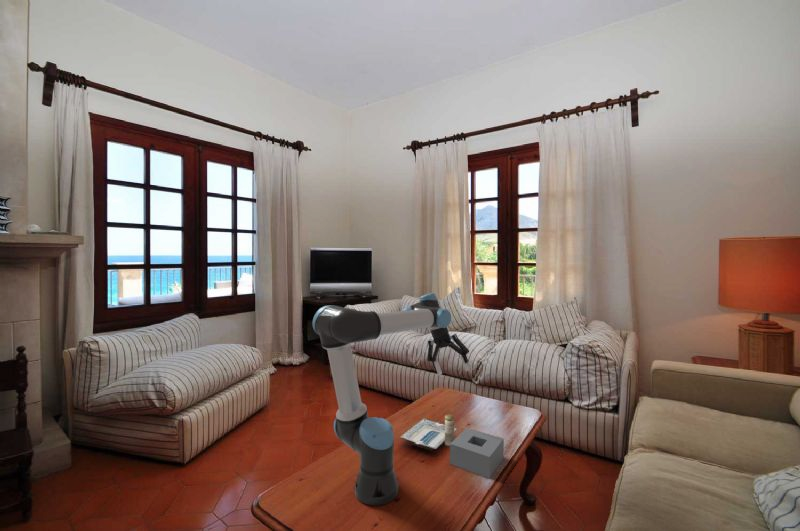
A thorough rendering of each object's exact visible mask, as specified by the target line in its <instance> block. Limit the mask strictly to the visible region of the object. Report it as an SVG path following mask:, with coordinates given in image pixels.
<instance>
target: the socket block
mask: <svg viewBox="0 0 800 531" xmlns="http://www.w3.org/2000/svg"><path fill="white" fill-rule="evenodd" d="M504 439H505V438H502V437H499V436H497V435H492V434H489V433H486V432H482V431H479V430H475V429H473V428H468V427H466V428H465V429H463V430H462V432H461V433H459V435H458V436H457V437H455V438H454V441H453V442H452V443H450V446H449V465H452V466H455V467H457V468H459V469H462V470H465V471H468V472H469V473H472V474H473V473H474V474H476V475H479V476H480V477H481V476H482V477H484V478H487V479H488V480H489V479H491V477H492V475H493V474H494V472H496V470H497V468H498V467H499V465H500V464H501V463H502V461H503V460H504V457H505V455H504V450H505V448H504V446H505V445H504V443H505V442H504Z"/></svg>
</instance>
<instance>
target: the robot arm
mask: <svg viewBox="0 0 800 531" xmlns="http://www.w3.org/2000/svg"><path fill="white" fill-rule="evenodd" d="M440 306H441V305H440V303H439V300H438V298H437V295H436V293H435V292H429V293H426V294H423V295H421V296H420V297H419V302H416V303H414V304H412V305H408V306H406V307H405V308H402V310H401V311H390V312H379V313H378V312H376V311H374V310H373V311H372V310H370V311H363V310H357V309H354V308H348V307H342V306H338V305H333V304H332V305H324V306H322V307H320V308H319V309H318V310H317V311H316V312H315V314H314V316H313V319H312V328H313V331H314V332H315V334H317V335H318V336H319V338H320V343H321V344H320V345H321V347H322V348H323V349H325V350H326V352H327V355H328V356H327V357H328V360H329V364H330V366H329V367H330V370H331V371H330V372H331V375H332V382H333V385H334V392H335V395H336V396H335V397H336V400H337V406H338V409H337V411H336V413H335V416H336V417H335V419H334V421H333V431H334V433H335V436H336V437H337V439H338V440H339V441H340V442H342V443H343V444H345V445H346V446H348V448H350V449H352V450H353V451H355V452H356V453H357V454H359V472H358V474H357V477H356V480H355V484H354V494H355V495H354V496H355V497H356V499H357V500H358V501H359V502H361V503H362V504H364V505H367V506H368V505H369V506H383V505H387V504H388V503H390V502H391V503H392V501H394V499H396V497H397V496H398V494H399V481H398V478H397V474H396V472H395V468H394V455H395V454H394V450H395V449H394V446H395V444H394V442H395V441H394V440H395V436H394V427H393V426H392V424H391V422H389V421H388V420H387V419H385V418H382V417H378V416H372V417H371V416H370V417H369V413H368V409H367V408H368V407H367V405H366V404H365V403H363V402H362V397H361V394H360V393H361V392H360V387H359V382H358V377H357V370H356V367H355V361H354V356H353V350H352V344H354V343H355V344H356V343H360V342H366V341H371V340H376V339H378V338H380V336H385V335H390V334H391V335H392V334H395V333H396V334H397V333H404V332H408V331H409V332H410V331H416V330H422V329H428V328H429V329H430V333H431V336H432V338H433V339H432V338H429V340H427V345H428V348H427V350H428V351H427V358H426V359H427V362H431V363H432V366H433V368H434V369H435V370H436V372H437V373H436V374H437V376H438V377H440V376H441V375H442V374H443V372H442V368H441V365H440V363H439V360H438V359H437V357H438V354H439V351H440V349H443V348H447V347H449V348H451V349H452V350H453V351H455V352H456V353H458V354H459V355H461V356H460V359H461V363H462V365H463V369H464V371H465V372H468V371H469V370H470V367H469V365H468V363H469V359H468V356H467V355H468V354H469V353H470V350H469V349H468V347H466V344H464V342H462V340H460V338H459V337H458V335H457V333H454V334H452V335H450V333H449V329H448V327H449V326H450V324H451V322H452V315H451V312H450V311H449V310H448V309H446V308H443V307H440ZM434 344H435V348H434ZM433 351H434V352H433Z"/></svg>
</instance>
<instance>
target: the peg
mask: <svg viewBox="0 0 800 531" xmlns="http://www.w3.org/2000/svg"><path fill="white" fill-rule="evenodd" d="M454 440H455V416H454V415H453V414H445V415H444V445H445V446H446V447H450V443H452V442H453V441H454Z"/></svg>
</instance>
